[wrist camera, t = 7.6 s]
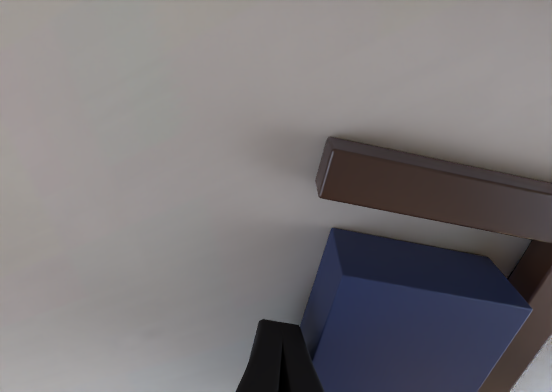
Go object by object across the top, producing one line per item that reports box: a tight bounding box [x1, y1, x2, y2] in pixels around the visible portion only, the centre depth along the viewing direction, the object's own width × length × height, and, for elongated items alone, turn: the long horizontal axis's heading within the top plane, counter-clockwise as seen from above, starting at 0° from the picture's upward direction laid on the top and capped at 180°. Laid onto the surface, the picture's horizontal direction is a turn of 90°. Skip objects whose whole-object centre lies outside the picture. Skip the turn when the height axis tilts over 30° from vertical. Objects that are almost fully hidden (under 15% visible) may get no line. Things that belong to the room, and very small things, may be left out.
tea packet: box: [300, 228, 533, 392], centre depth 13 cm, size 8×6×2 cm
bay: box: [315, 137, 552, 392], centre depth 13 cm, size 14×9×1 cm, turn 168°
